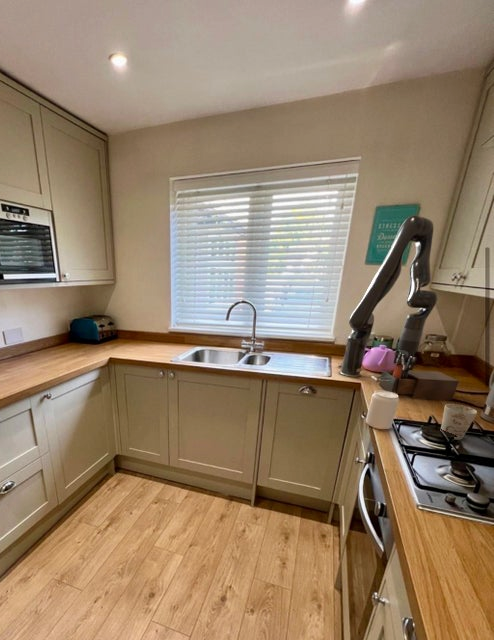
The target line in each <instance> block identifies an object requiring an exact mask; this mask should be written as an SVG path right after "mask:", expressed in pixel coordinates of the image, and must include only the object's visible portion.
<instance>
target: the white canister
mask: <svg viewBox="0 0 494 640" xmlns="http://www.w3.org/2000/svg"><path fill="white" fill-rule="evenodd" d="M399 402H400V398H399V395H398V393H395V392H394V393H392V392H388V391H386V390H375V391H374V393H372V394H371V398H370V402H369V406H368V410H367V414H366V418H365V423H366V424H367V425H368V426H370V427H371V428H374V429H378V430H389V429H391V428H392V426H393V423H394V419H395V416H396V413H397V409H398V405H399Z"/></svg>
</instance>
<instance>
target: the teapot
mask: <svg viewBox="0 0 494 640" xmlns="http://www.w3.org/2000/svg"><path fill="white" fill-rule="evenodd" d="M366 351H367V352H366ZM395 351H396V350H393V349H390V348H387V345H384V344H380V345H379V347H378V346H377V347H371V349H370V348H366V350H365V354H364V358H363V362H362V367H363V368H364V369H366V370H368V371H370V372H377V373H382V371H386V372H387V373H389V372H394V368H395V363H394V357H395Z"/></svg>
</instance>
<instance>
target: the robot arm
mask: <svg viewBox="0 0 494 640" xmlns="http://www.w3.org/2000/svg"><path fill="white" fill-rule="evenodd" d="M434 229H435V228H434V222H433V221H432V219H430V218H427V217H424V216H420V215H417V214H412V215H410V216H408V217H407V218H406V219H405V220H404V222H403V223H402V224H401V226H400V228H399V229H398V231H397V233H396V236H395V238H394V240H393V242H392V243H391V247H390V248H389V250H388V253H387V254H386V256H385V258H384V259H383V261H382V263H381V265H380V267H379V268H378V270H377V272H376V273H375V275H374V276H373V278H372V280H371V283H370V285H369V286H368V288H367V289H366V292H365V294H364V295H363V297H362V299H361V301H360V302H359V304H358V305H357V306H356V307H355V309H354V310H353V312H352V313H351V315H350V317H349V320H348V324H349V326H350V328H351V329H352V330H351V332H350V333H349V335H348V336H347V340H346V345H345V349H344V354H343V359H342V362H341V364H340V365H338V366H337V367H338V368H340V372H339V373H340V374H341V375H342V376H346V377H350V378H351V377H352V378H357V377H360V375H361V372H362V370H363V368H362V367H363V365H362V362H363V358H364V356H365V355H366V351H365V350H366V349H367V345H368V341H369V339H370V338H371V335H372V330H373V326H374V324H375V323H374V322H375V315H374V314H373V313H374V311H375V309H376V307H377V306H378V304H380V302H381V301H382V300H383V299H384V298H385V297H386V296H387V295H388V294H389V293H390V291H391V290H392V289H393V287H394V286H395V284H396V283H397V281H398V279H399V278H400V275H401V273H402V269H403V268H402V267H403V258H404V254H405V251H406V249H407V247H408V245H409V244H410V242H413V243H414V245H415V255H414V257H413V259H412V261H411V263H410V268H409V283H410V284H409V288H408V292H407V296H406V299H405V300H406V301H405V303H406V304H407V306H408V307H409V308H411V309H418V310H417V312H414V313H409V314H408V315H407V316H406V319H405V322H404V325H403V329H402V330H401V333H400V337H399V341H398V344H397V349H398V350H397V349H396V350H394V351H395V353H394V354H395V357H394V363H395V366H396V365H402V366H403V370H402V373H401V376H400V378H403V379H405V378H406V377H407V374H408V371H409V370H413V369H414V367H415V365H416V363H417V360H418V357H416V356H414V352H417V351H419V349H420V344H421V340H422V337H423V332H424V328H425V325H426V322H427V319H428V318H429V316H430V315H431V313H432V311H433V310H434V308H435V306H436V305H437V302H438V293H437V292H436V291H435V290H427V289H426V290H423V289H422V288H425V287H428V286H429V285H430V284H431V282H432V273H431V252H432V246H433V245H432V244H433V237H434ZM405 366H406V367H405Z"/></svg>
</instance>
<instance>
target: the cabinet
mask: <svg viewBox="0 0 494 640" xmlns="http://www.w3.org/2000/svg"><path fill="white" fill-rule="evenodd" d="M408 375H410V376H411V377H413V378H415V379H417V383H416V386H415V389H414V393H413V394H407V395H408V396H409V397H411V398H412V399H423V400H439V401H453V399H454V396H455V394H456V391H457V388H458V385H459V382H460V380H458V379H455V378H454V377H452V376H450V375H448V374H445V373H443V372H441V371H431V370H416V369H415V370H413V369H412V370H409V373H408Z"/></svg>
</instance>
